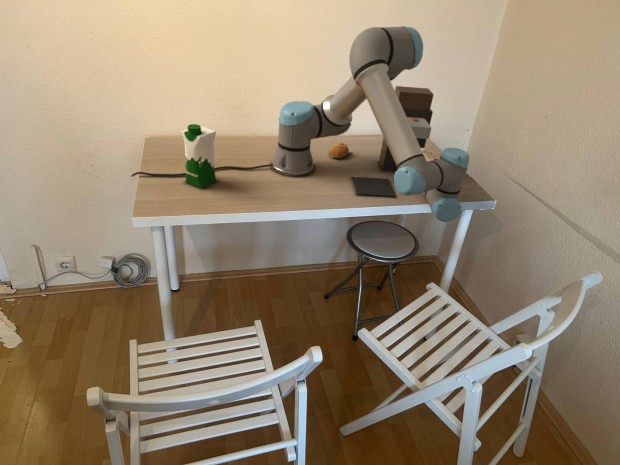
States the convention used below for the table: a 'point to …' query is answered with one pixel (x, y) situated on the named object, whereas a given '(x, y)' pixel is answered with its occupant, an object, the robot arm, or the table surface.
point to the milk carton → (199, 155)
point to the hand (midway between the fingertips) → (415, 155)
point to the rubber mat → (373, 187)
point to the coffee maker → (411, 120)
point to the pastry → (339, 150)
